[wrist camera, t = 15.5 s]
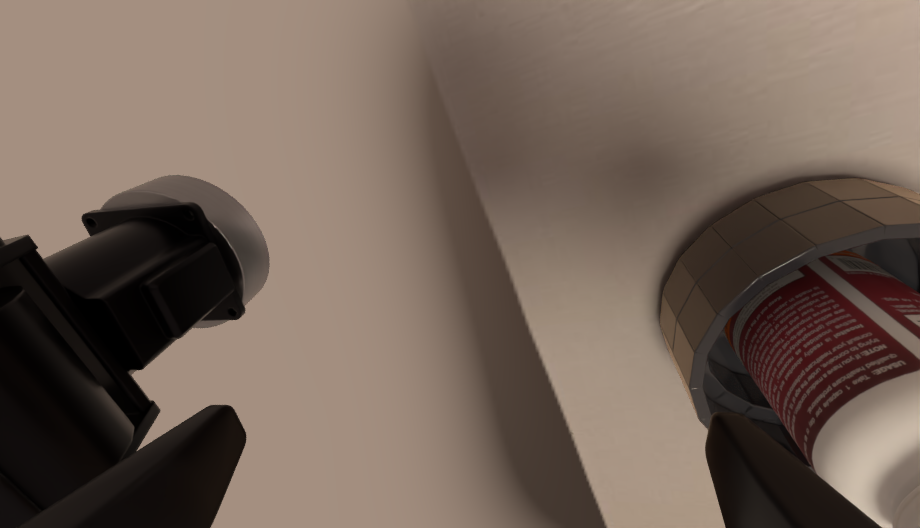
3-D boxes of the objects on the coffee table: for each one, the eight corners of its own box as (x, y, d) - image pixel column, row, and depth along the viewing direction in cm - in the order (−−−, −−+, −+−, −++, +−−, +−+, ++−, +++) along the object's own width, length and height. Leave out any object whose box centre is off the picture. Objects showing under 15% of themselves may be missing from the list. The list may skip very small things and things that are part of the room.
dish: (648, 388, 23) (676, 470, 19) (667, 186, 18) (712, 235, 14) (893, 388, 21) (987, 480, 17) (993, 161, 16) (1166, 209, 12)
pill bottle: (727, 368, 21) (890, 644, 12) (704, 265, 19) (885, 505, 9) (878, 337, 19) (1219, 636, 10) (872, 218, 17) (1316, 459, 7)
